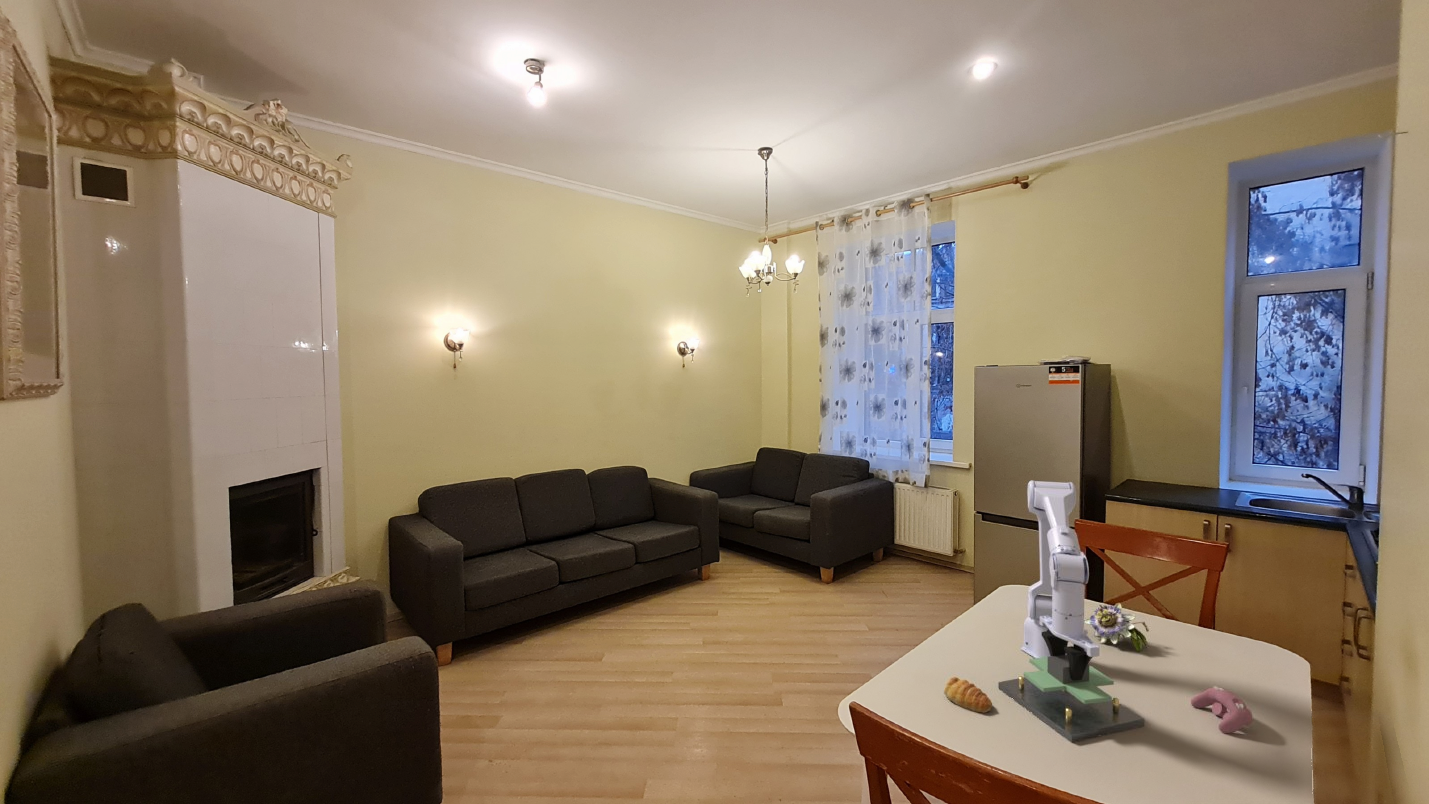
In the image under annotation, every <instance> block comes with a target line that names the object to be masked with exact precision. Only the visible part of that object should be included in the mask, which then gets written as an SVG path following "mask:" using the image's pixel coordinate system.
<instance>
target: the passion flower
mask: <svg viewBox="0 0 1429 804" xmlns="http://www.w3.org/2000/svg"><path fill="white" fill-rule="evenodd" d="M1102 605H1103V606H1102ZM1122 609H1123V607H1122V604H1121V603H1120V602H1117V603H1115V605H1109V604H1108V605H1106V604H1099V607H1097V608H1095V610H1093V612H1095V613H1094V615H1093V614H1092V615H1090V617H1089V618H1088V619H1084V625H1085V624H1086V625H1087V626H1088V625H1089V626H1092V628H1093V630H1095V631H1094V634H1093V636H1094V637H1097V638H1100V644H1106V643H1108V642H1109V639H1110V641H1111V643H1112V644H1114V645H1118V644H1119V642H1120V637H1121V636H1122V637H1123V639H1126V638H1130V639H1131V640H1130V641H1132V644H1133V646H1134V648H1135V649H1136V650H1137V651H1138V652H1139V653H1141V652H1142V649H1143V644H1144V647H1145V648H1146V649H1148V641H1147V638H1146V636H1145V635H1144V634H1143V633H1142V631H1140V630H1138V628H1136V627H1135V625H1136V624H1142V625H1143V627H1144V628H1145V631H1146V632H1149V631H1150V630H1149V628H1148V625H1147V624H1146V622H1145V621H1140V622H1133V623H1131V621H1132V620H1135V619H1136V614H1132V613H1122ZM1142 643H1143V644H1142Z"/></svg>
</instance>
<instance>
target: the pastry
mask: <svg viewBox="0 0 1429 804" xmlns="http://www.w3.org/2000/svg"><path fill="white" fill-rule="evenodd" d="M943 694H944V696H946V697H947V699H948V700H949V701H950V702H953V703H954V704H955V705H957V706H959V707H963V708H964V709H967V710H970V711H973V712H976V713H983V714H985V713H988V712H989V711H990V710H991V709H992V706H993V702H992V700H991V699H990V698H989V697H988V695H987V693H985V692H983V690H982V689H981V688H979V687H977V686H976V685H975V684H974V683H972V682H971V683H970V682H969V681H968V680H966V679H960V678H959V677H957V676H953V677H951V678H949V680H948V681H947V682H946V684H945V687H944V690H943Z"/></svg>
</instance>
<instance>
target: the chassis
mask: <svg viewBox="0 0 1429 804" xmlns="http://www.w3.org/2000/svg"><path fill="white" fill-rule="evenodd" d="M997 683H998V685H997V686H998V688H999V690H1000V691H1001V690H1002V691H1003V692H1002V691H1001V692H1002V693H1004V694H1005V693H1006V694H1007V696H1008V697H1009V696H1010V697H1011V698H1010V697H1009V698H1010V699H1012V698H1013V699H1014V700H1013V699H1012V700H1013V701H1015V702H1016V701H1017V702H1018V703H1017V702H1016V703H1017V704H1018V705H1020V704H1021V705H1022V706H1021V705H1020V706H1021V707H1022V708H1024V707H1025V708H1026V709H1025V708H1024V709H1025V710H1026V711H1028V710H1029V711H1030V712H1029V711H1028V712H1029V713H1031V712H1032V713H1033V714H1032V713H1031V714H1032V715H1034V717H1036V716H1037V717H1036V718H1037V719H1039V720H1040V719H1041V720H1040V721H1042V722H1043V723H1045V725H1047V726H1048V727H1050V728H1051V729H1052V730H1054V731H1055V732H1057V733H1058V734H1059V735H1061V736H1062V737H1063V738H1065V740H1068V742H1070V743H1076V742H1079V741H1084V740H1088V739H1092V738H1096V737H1101V736H1106V735H1109V734H1114V733H1119V732H1123V731H1128V730H1131V729H1135V728H1140V727H1144V726H1145V718H1144V717H1142V716H1141V715H1139V714H1137V713H1136V712H1134V711H1133V710H1131V709H1130V708H1127V707H1126V706H1124V705H1122V704H1121V703H1120V699H1119V698H1117V697H1112V701H1107V702H1098V703H1088V704H1084V703H1083V702H1081V701H1080V700H1079V699H1077V698H1076V697H1075V696H1073V695H1072V694H1071V693H1069V692H1068V691H1067V690H1057V691H1048V692H1043V691H1042V690H1040V689H1039V688H1038V687H1037V686H1035V685H1034V684H1033V683H1032V682H1030V681H1029V680H1028V679H1027V678H1025V677H1024V676H1023V675H1022V676H1018V678H1013V679H1008V680H1004V681H998V682H997ZM998 688H997V689H998ZM1006 694H1005V695H1006Z"/></svg>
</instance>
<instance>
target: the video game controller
mask: <svg viewBox="0 0 1429 804" xmlns="http://www.w3.org/2000/svg"><path fill="white" fill-rule="evenodd" d="M1190 704H1191V706H1192V707H1193V708H1196V709H1202V708H1206V707H1210V706H1212V707H1211V711H1212V713H1213V714H1214V715H1216V716H1218V717H1220V718H1222V721H1220V722H1219V724H1218V730H1219V731H1220V732H1222V733H1223V734H1233V733H1235V732H1238V731H1240V730H1241V729H1243V727H1245V726H1248V725H1249V724H1251V722H1252V721H1253V714H1252V711H1251V710H1250V709H1249V708H1248V707H1247V706H1246V704H1245V702H1244V701H1243V700H1242V699H1241V698H1240V697H1239V696H1238V695H1236V694H1234V693H1233V692H1231V691H1229V690H1227V689H1224V688H1223V687H1218V686H1216V685H1213V687H1209V688H1207V689H1205V690H1203V691H1202V692H1200V693H1198V694H1196V695H1194V696H1193V697H1192V698H1191V700H1190Z"/></svg>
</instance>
